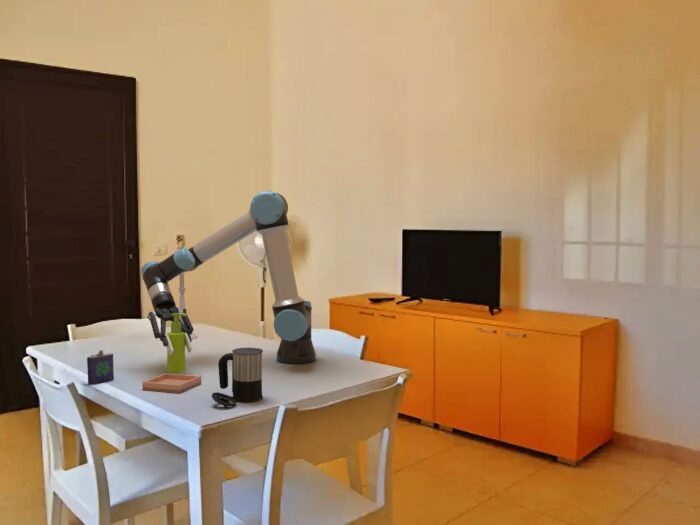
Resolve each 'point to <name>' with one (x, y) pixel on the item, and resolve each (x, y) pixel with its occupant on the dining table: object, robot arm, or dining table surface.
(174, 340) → the soap dispenser
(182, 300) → the candlestick
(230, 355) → the milk frother
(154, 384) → the holder dish
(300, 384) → the dining table surface
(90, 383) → the flask
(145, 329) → the dining table surface
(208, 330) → the dining table surface
